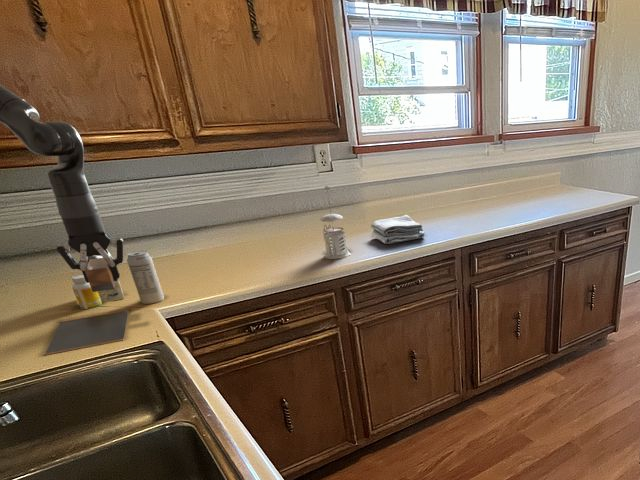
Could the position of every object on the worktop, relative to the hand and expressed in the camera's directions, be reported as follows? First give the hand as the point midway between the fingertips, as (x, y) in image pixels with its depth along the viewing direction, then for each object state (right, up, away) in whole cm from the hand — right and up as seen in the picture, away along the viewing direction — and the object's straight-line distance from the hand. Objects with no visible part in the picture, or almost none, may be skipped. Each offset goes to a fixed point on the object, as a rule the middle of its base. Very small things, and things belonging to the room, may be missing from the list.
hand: (104, 281), depth 131 cm
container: (-18, -2, +26) cm, 32 cm away
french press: (+42, +19, +63) cm, 78 cm away
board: (-5, -13, +3) cm, 14 cm away
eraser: (0, -1, 0) cm, 1 cm away
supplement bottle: (-18, -5, +20) cm, 27 cm away
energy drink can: (-1, -3, +22) cm, 22 cm away
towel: (+62, +30, +84) cm, 108 cm away
